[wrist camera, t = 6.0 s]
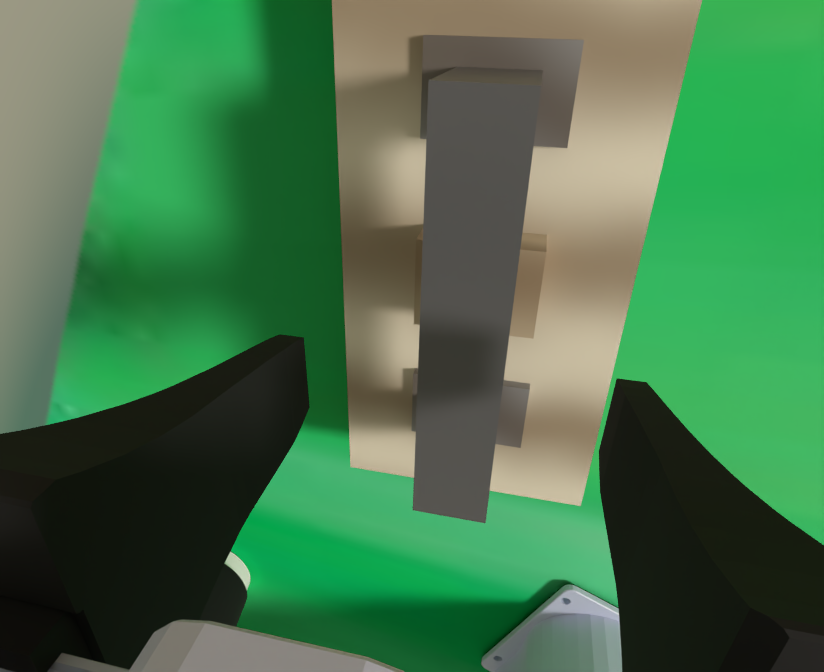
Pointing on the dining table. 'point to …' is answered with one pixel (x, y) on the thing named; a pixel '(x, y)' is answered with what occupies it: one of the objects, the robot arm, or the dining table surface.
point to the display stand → (544, 215)
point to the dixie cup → (228, 593)
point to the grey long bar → (469, 276)
